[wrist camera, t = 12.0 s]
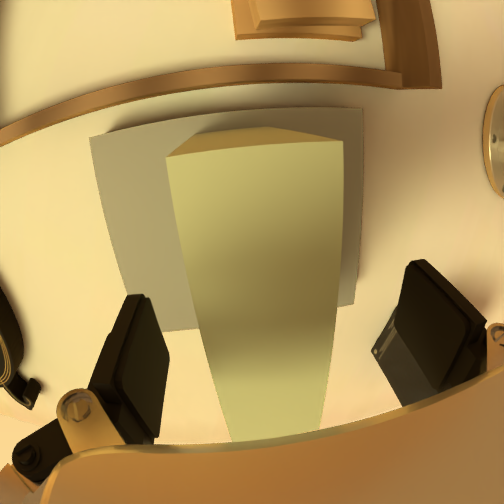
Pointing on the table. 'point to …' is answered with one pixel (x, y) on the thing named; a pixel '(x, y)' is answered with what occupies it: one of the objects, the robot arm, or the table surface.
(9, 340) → the decorative sign
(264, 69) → the frame
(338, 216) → the pale green block
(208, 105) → the table surface
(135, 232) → the grey board
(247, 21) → the block
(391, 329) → the small box
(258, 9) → the upper offcut
